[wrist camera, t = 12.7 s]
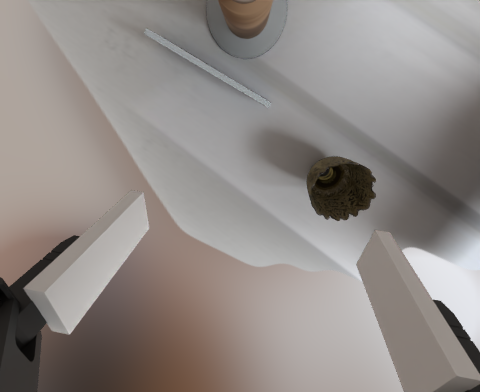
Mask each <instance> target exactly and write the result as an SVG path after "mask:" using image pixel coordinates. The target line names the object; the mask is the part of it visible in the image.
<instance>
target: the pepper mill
mask: <svg viewBox="0 0 480 392" xmlns="http://www.w3.org/2000/svg"><path fill="white" fill-rule="evenodd" d="M218 2H219V5H220V7H221V10H222V13H223V15H224V18H225V20H226V23H227V25H228V27H229V29H230V30H231V32H232V33H233V34H234V35H236V36H237V37H239V38H243V39H250V38H253V37H256V36H257V35H259V34H260V33H261V32H262V31H263V29H264V28H265V26H266V24H267V21H268V18H269V14H270V10H271V7H272V3H273V0H218Z"/></svg>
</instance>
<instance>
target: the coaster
mask: <svg viewBox="0 0 480 392" xmlns="http://www.w3.org/2000/svg"><path fill="white" fill-rule="evenodd" d="M206 13H207V21H208V25H209V28H210V31H211V33H212V35H213V37H214V39H215V40H216V42H217V43H218V45H219V46H220V47H221V48H222V49H223V50H224V51H226V52H227V53H228V54H230V55H232V56H234V57H237V58H242V59H249V58H254V57H258V56H260V55H262V54H264V53H265V52H267V51H268V50H269V49H270V48H271V47H272V46H273V45H274V44H275V43H276V41H277V40H278V38H279V37H280V35H281V33H282V31H283V28H284V25H285V22H286V17H287V0H273V3H272V7H271V10H270V14H269V18H268V21H267V24H266V26H265V28H264V29H263V31H262V32H261V33H260V34H259V35H257V36H256V37H253V38H250V39H243V38H239V37H237V36H236V35H234V34H233V33H232V32H231V30H230V29H229V27H228V25H227V23H226V20H225V18H224V15H223V13H222V10H221V7H220V5H219V2H218V0H207V5H206Z"/></svg>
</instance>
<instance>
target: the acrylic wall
mask: <svg viewBox="0 0 480 392" xmlns="http://www.w3.org/2000/svg"><path fill="white" fill-rule="evenodd" d="M144 34H145V35H147V36H148V37H150V38H152V39H153V40H155V41H157V42H158V43H160V44H162V45H163V46H165V47H167V48H169V49H170V50H172V51H174V52H175V53H177V54H179V55H180V56H182V57H184V58H185V59H187V60H189V61H190V62H192V63H194V64H195V65H197V66H199V67H200V68H202V69H204V70H206V71H207V72H209V73H211V74H212V75H214V76H216V77H217V78H219V79H221V80H222V81H224V82H226V83H227V84H229V85H231V86H232V87H234V88H236V89H237V90H239V91H241V92H242V93H244V94H246V95H248V96H249V97H251V98H253V99H254V100H256V101H258V102H259V103H261V104H263V105H264V106H266V107H268V108H269V106H270V105H271V102H269V101H268V100H266V99H265V98H263V97H261V96H260V95H258V94H256V93H255V92H253V91H251V90H250V89H248V88H246V87H245V86H243V85H241V84H240V83H238V82H236V81H235V80H233V79H231V78H230V77H228V76H226V75H225V74H223V73H221V72H220V71H218V70H216V69H215V68H213V67H211V66H210V65H208V64H206V63H205V62H203V61H201V60H200V59H198V58H196V57H195V56H193V55H191V54H190V53H188V52H187V51H185V50H183V49H182V48H180V47H178V46H177V45H175V44H173V43H172V42H170V41H168V40H167V39H165V38H163V37H162V36H160V35H158V34H156V33H155V32H153V31H151V30H149V29H147V28H146V29H145V33H144Z"/></svg>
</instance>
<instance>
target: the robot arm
mask: <svg viewBox="0 0 480 392" xmlns="http://www.w3.org/2000/svg"><path fill="white" fill-rule="evenodd" d="M148 229H149V223H148V217H147V211H146V204H145V198H144V192H140V191H133V190H131V191H130V192H129V193H128V194H126V195H125V196H124V197H123V198H122V199H121V200H120V201H119V202H118V203H117V204H115V205H114V206H113V207H112V208H111V209H110V210H109V211H108V212H107V213H105V215H103V216H102V217H101V218H100V219H99V220H98V221H97V222H96V223H94V224H93V225H92V226H91V227H90V228H89V229H88V230H87V231H86V232H85V233H83V234H82V235H81V236H72V237H70V238H68V239H66V240H65V241H63V242H61V243H60V244H59V245H58V246H56V247H55V248H54V249H53V250H52V251H51V253H48V254H47V255H46V256H45V257H44V258H43V260H40V261H39V262H38V263H37V264H35V265H34V266H33V267H32V268H31V269H30V270H28V271H27V272H26V273H25V274H24V275H23V276H22V277H20V278H19V279H18V280H17V281H16V282H15V283H13V284H12V285H11V286H10V287H8V286H7V284H6V283H5V281H4V280H3V279H2V278H0V392H37V388H38V376H39V364H40V352H41V339H42V335H41V331H40V330H41V329H42V328H43V327H44V325H45V324H46V323H47V324H48V326H49V327H50V329H51V330H52V331H55V332H60V333H64V334H70V333H71V332H72V331H73V329H74V328H75V327H76V325H77V324H78V323H79V321H80V320H81V319H82V317H83V316H84V315H85V313H86V312H87V311H88V309H89V308H90V307H91V305H92V304H93V302H94V301H95V300H96V299H97V297H98V296H99V295H100V293H101V292H102V291H103V289H104V288H105V287H106V285H107V284H108V283H109V281H110V280H111V279H112V277H113V276H114V275H115V273H116V272H117V271H118V269H119V268H120V267H121V265H122V264H123V263H124V261H125V260H126V259H127V257H128V256H129V255H130V253H131V252H132V251H133V249H134V248H135V247H136V245H137V244H138V243H139V241H140V240H141V239H142V237H143V236H144V235H145V233H146V232H147V231H148ZM356 265H357V268H358V270H359V273H360V276H361V278H362V281H363V284H364V286H365V289H366V292H367V294H368V297H369V300H370V302H371V305H372V308H373V310H374V313H375V316H376V318H377V321H378V324H379V326H380V329H381V332H382V334H383V337H384V340H385V342H386V345H387V348H388V350H389V353H390V355H391V358H392V361H393V364H394V366H395V369H396V372H397V374H398V377H399V379H400V382H401V385H402V387H403V390H404V392H480V352H479V350H478V349H477V347H476V346H475V344H474V343H473V342H472V341H471V340H470V337H469V335H468V334H467V333H466V331H465V330H463V327H462V325H461V324H460V322H459V321H458V319H457V318H456V317H455V315H454V313H452V312H451V311H450V310H449V309H448V308H447V307H446V306H445V305H444V304H443V303H442V302H441V301H438V300H432V298H431V297H430V295H429V293H428V292H427V290H426V289H425V287H424V286H423V284H422V282H421V281H420V279H419V278H418V276H417V274H416V273H415V271H414V270H413V268H412V267H411V265H410V263H409V262H408V260H407V259H406V257H405V255H404V254H403V252H402V251H401V249H400V248H399V246H398V244H397V243H396V241H395V240H394V238H393V237H392V235H391V233H390V232H385V231H379V230H375V231H374V233H373V235H372V237H371V238H370V240H369V242H368V244H367V246H366V247H365V249H364V251H363V253H362V255H361V257H360V258H359V260H358V262H357V264H356Z"/></svg>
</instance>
